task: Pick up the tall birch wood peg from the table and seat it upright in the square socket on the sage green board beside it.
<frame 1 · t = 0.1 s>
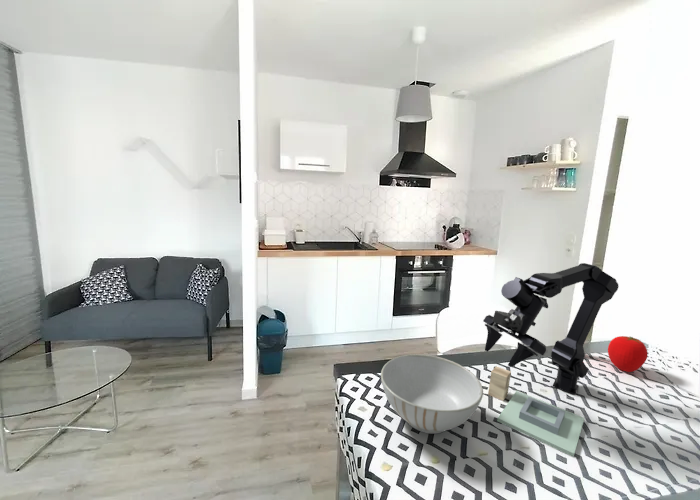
hand: (497, 358, 98), 15 cm above the table, tool tilted 30°, fingers open, 9 cm apart
birch peg: (497, 394, 106), on the table
decorative bowl: (426, 418, 93), on the table
flask: (573, 354, 135), on the table
socket board: (540, 421, 94), on the table
tomato: (623, 369, 125), on the table
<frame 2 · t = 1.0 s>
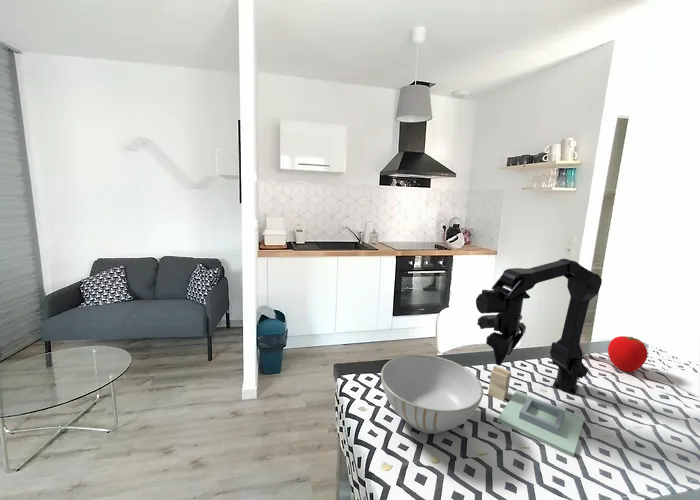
hand: (503, 359, 103), 12 cm above the table, tool pointing down, fingers open, 9 cm apart
nothing on the table moved.
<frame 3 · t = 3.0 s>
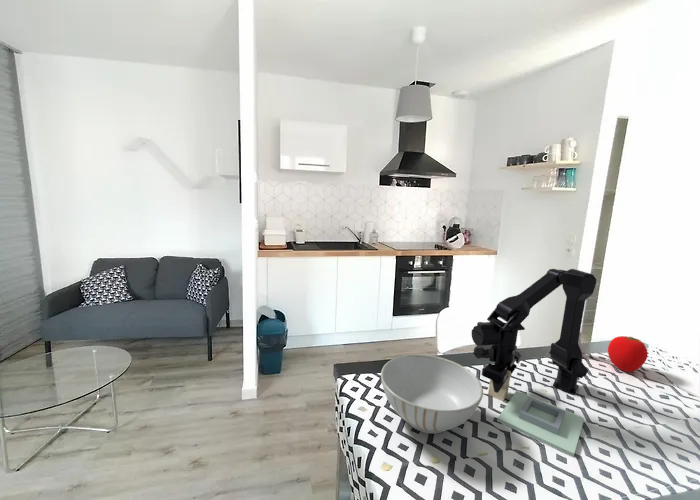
hand: (498, 388, 105), 2 cm above the table, tool pointing down, fingers closed on birch peg, 4 cm apart
birch peg: (497, 394, 106), on the table, touching gripper
everything else where it was.
when the fingers open (4 cm above the table, at t = 9.8 s): birch peg drops 1 cm, resting on socket board.
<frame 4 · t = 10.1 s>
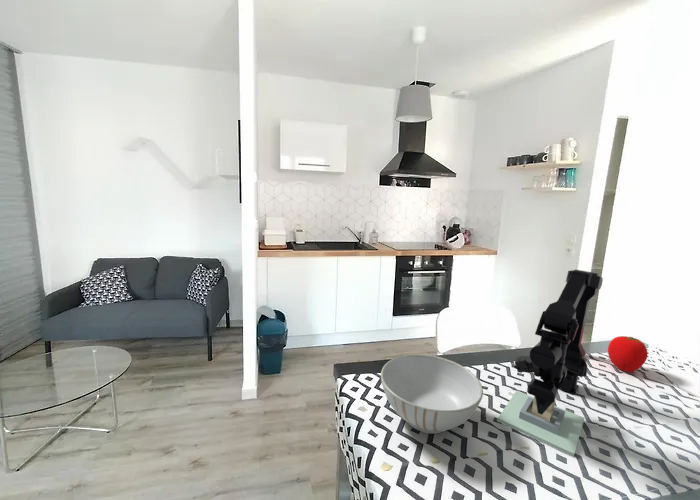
hand: (543, 406, 93), 4 cm above the table, tool pointing down, fingers open, 8 cm apart
birch peg: (541, 417, 94), point 1 cm above the table, touching socket board
everything else where it was.
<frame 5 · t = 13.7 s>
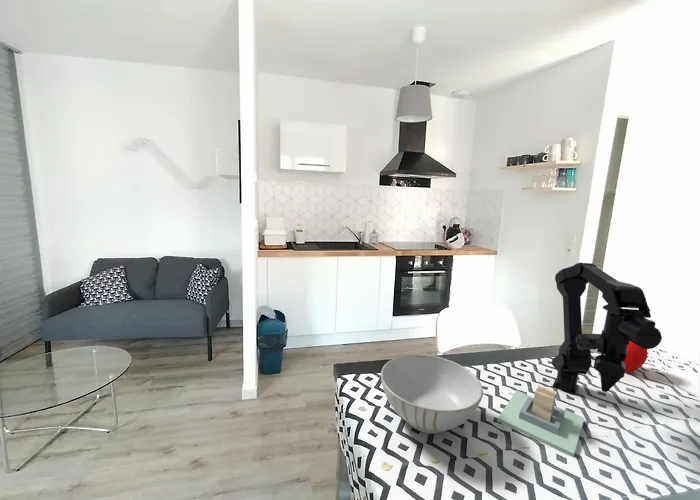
hand: (605, 384, 92), 12 cm above the table, tool pointing down, fingers open, 9 cm apart
nothing on the table moved.
at the end: birch peg 0.1 cm off-centre on the socket board, point 1.0 cm above the socket board's base; birch peg tilted 0°; the gripper is holding nothing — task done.
